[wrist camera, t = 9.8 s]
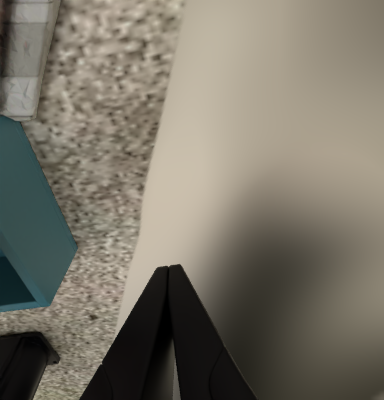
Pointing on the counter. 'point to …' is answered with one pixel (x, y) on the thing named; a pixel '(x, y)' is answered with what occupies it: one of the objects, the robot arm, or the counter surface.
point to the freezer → (28, 227)
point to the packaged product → (24, 54)
